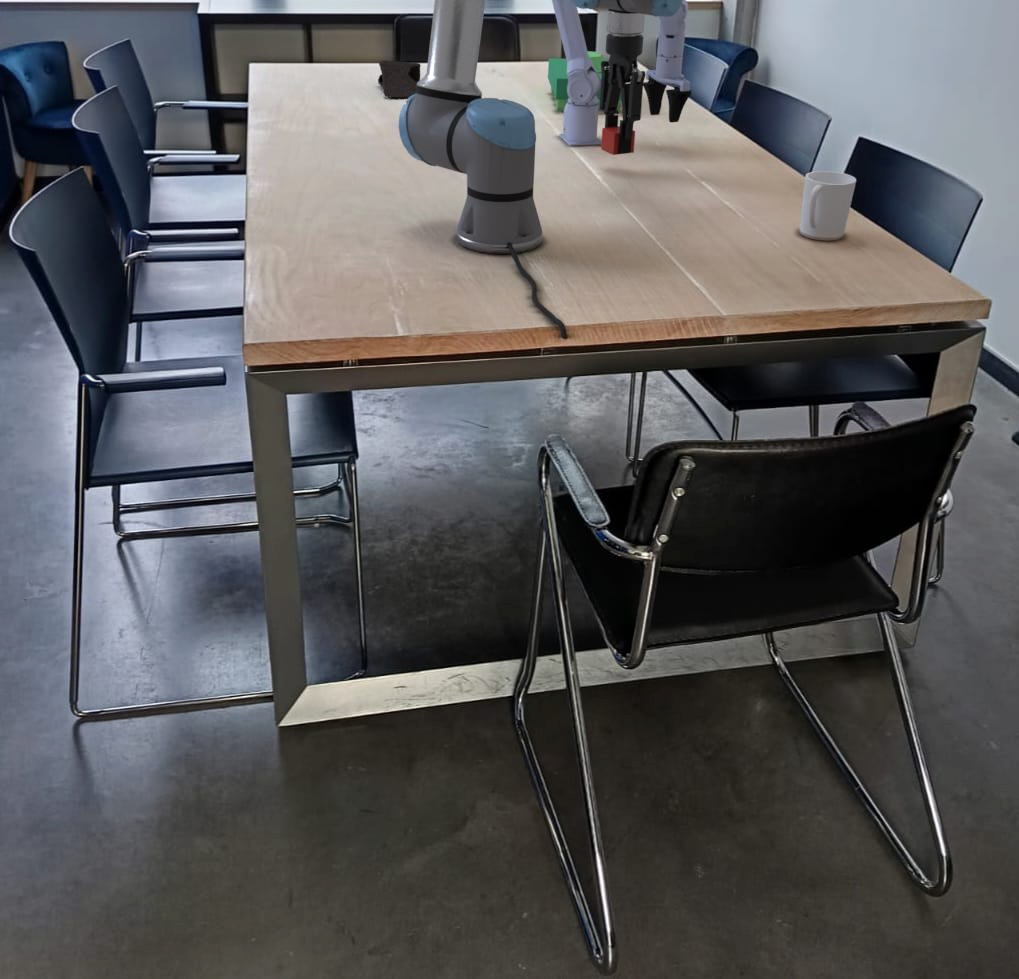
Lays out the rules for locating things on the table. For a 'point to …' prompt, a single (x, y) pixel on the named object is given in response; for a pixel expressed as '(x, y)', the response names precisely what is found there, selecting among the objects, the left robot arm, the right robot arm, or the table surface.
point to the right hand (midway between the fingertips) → (664, 118)
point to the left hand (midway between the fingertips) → (617, 149)
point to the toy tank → (560, 79)
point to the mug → (826, 204)
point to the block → (613, 140)
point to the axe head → (399, 78)
